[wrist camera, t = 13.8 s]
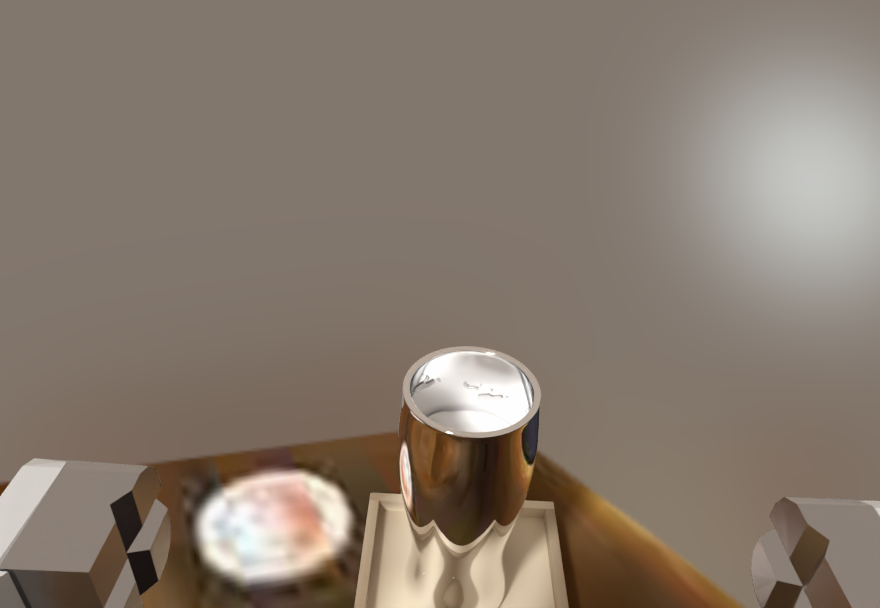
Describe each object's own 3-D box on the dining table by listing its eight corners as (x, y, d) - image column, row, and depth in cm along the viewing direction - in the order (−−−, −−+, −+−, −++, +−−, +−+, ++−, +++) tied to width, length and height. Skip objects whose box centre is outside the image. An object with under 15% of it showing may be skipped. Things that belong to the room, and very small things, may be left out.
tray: (348, 673, 36) (347, 658, 35) (370, 508, 45) (370, 492, 44) (573, 684, 36) (577, 669, 35) (550, 516, 45) (553, 501, 44)
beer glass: (399, 530, 43) (402, 340, 35) (508, 533, 43) (537, 345, 35) (392, 635, 37) (393, 436, 29) (518, 639, 37) (555, 443, 29)
